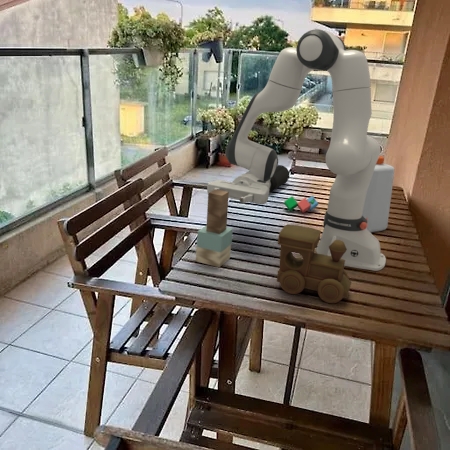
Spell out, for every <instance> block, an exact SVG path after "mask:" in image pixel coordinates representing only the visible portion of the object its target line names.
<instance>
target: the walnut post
mask: <svg viewBox="0 0 450 450" xmlns="http://www.w3.org/2000/svg"><path fill="white" fill-rule="evenodd" d="M228 197H229V192H227V191H222V190H217V189H215V190H213V191H211V192H209V193H208V192H207V207H206V208H207V211H206V225H207V228H206V231H209V232H213V233H217V234H221V233H222V232H223V231H225V230H226V227H227V224H228V223H227V222H228V212H229V211H228V210H229V208H228V207H229V198H228Z"/></svg>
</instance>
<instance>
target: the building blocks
mask: <svg viewBox="0 0 450 450" xmlns="http://www.w3.org/2000/svg"><path fill="white" fill-rule="evenodd" d="M283 204H284V205H285V207H286V208H287V210H288V211H289V212H292V211H293V210H294V209H296V208H298V210H300V212H301V213H302V214H305V212H307V211H312V210H313V209H315V208H317V207H318V205H319V202H318V201H317V200H316V199H315V197H314V195H312V196H310V197H308V198H307V197H305V198H302V199H301V200H300V201H299V202H298V201H297V200H296V199H295V197H294V196H290V197H289V198H287V199H286V200H284V203H283Z"/></svg>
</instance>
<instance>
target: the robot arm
mask: <svg viewBox="0 0 450 450" xmlns="http://www.w3.org/2000/svg"><path fill="white" fill-rule="evenodd" d="M310 72H328V73H329V75H330V77H331V79H330V80H331V84H332V85H331V89H332V111H333V112H332V113H333V115H332V117H333V120H332V121H333V122H332V128H331V129H332V130H331V136H330V143H329V146H328V149H327V151H326V154H325V164H326V167H327V168H328V170H329V171H330V172H332V173H333V174H335V175H336V177H335V179H334V181H333V183H332V185H331V187H330V189H329V190H330V191H329V194H328V195H329V196H328V203H327V210H326V211H325V213H324V216H323V217H324V218H323V223H322V224H323V226H322V227H323V230H322V232H321V235H320V240H319V243H318V244H317V246H316V248H315V252H316V253H317V254H323V255H328V256H331V253H330V249H329V246H330V245H331V244H332V243H333V242H334V241H335V240H341V241H343V242H344V244H345V246H346V248H347V250H346V252H345V253H344V254H343V256H342V257H341V259H344V260H345V264H344V267H350V268H357V269H363V270H368V271H369V270H370V271H373V272H374V271H381V270H382V269H384V267H385V266H386V262H387V261H386V260H387V258H386V256H385V254H383V253H382V252H381V245H380V244H381V243H380V241H379V239H378V238H376V236H374V235H373V233H372V232H369V231H368V230H367V229H366V227H367V222H368V221H367V220H368V219H367V218H366V219H365V218H364V217H363V216H362V212H363V207H364V202H365V197H366V193H367V189H368V186H369V183H370V181H371V178H372V175H373V172H374V169H375V166H376V163H377V160H378V158H379V156H381V152H382V151H381V146H380V143H379V142H378V141H377V139H375V138H374V137H372V136H370V135H368V129H369V125H370V124H369V123H370V119H372V114H373V113H372V88H371V75H370V68H369V63H368V59H367V56H366V55H365V53H363V52H362V51H361V50H356V49H350V50H347V47H346V45H345V43H344V41H343V40H342V38H340V37H339V36H337V35H336V34H334V33H333V32H330V31H328V30H323V29H321V28H320V29H318V28H315V29H310V30H308V31H306V32H305V33H304V34H303V35H301V37H300V38H299V39H298V41H297V43H296V47H292V46H291V47H286V48H283V49H282V50H281V51H280V52H279V54H278V56H277V57H276V60H275V62H274V63H273V66H272V69H271V72H270V73H269V78H268V80H267V83H266V85H265V87H264V88H263V89H262V90H261V91H260V92H256V93H254V95H253V96H252V98H251V99H250V100H249V103H248V104H247V107H246V108H245V109H244V113H243V114H242V116H241V118H240V120H239V123H238V125H237V127H236V129H235V130H234V133H233V135H232V137H231V138H230V140H229V142H228V144H227V145H226V147H225V151H224V152H225V153H224V154H225V158H226V159H227V161H228V163H229V165H234V166H237V167H241V168H243V169H245V170H248V171H246V172H245V173H243V174H241V175H238V176H236V177H235V178H234V179H233V180H232V181H227V180H222V179H216V180H212V181H211V182H208V183H207V186H206V191H207V194H208V193H209V192H211V191H213V190H215V189H217V190H222V191H227V192H229V197H228V199H233V200H237V201H239V202H240V204H241V203H242V204H246V203H251V204H252V203H253V204H258V205H265V204H267V203H268V201H269V196H270V193H269V187H270V186H269V183H270V179H271V178H272V177H273V176H274V174H275V172H276V169H277V166H278V165H279V158H278V154H277V152H276V150H275V149H273V148H271V147H269V146H266V145H263V144H260V143H258V142H255V141H252V140H250V139H249V137H248V136H249V134H250V133H251V130H252V128H253V127H254V124H255V122H256V121H257V118H258V117H259V116H260V115H261V114H265V113H280V112H285V111H289V110H290V109H292V108H293V107H294V106H296V104H297V102H298V99H299V97H300V94H301V92H302V88H303V86H304V82H305V80H306V77H307V76H308V74H310Z"/></svg>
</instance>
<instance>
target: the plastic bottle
mask: <svg viewBox="0 0 450 450" xmlns="http://www.w3.org/2000/svg"><path fill="white" fill-rule="evenodd" d="M384 161H385V157H384V156H382V155H380V156H379V158H378V160H377V163H376V166H375V169H374V172H373V175H372V178H371V181H370V183H369V186H368V189H367V193H366V197H365V202H364V207H363V212H362V216H363V217H364V218H365V219H366V218H367V219H368V220H367V221H368V222H367V227H366V229H367V230H368V231H369V232H370V233H375V232H381V231H382V232H383V231H386V229H387V228H388V224H389V216H390V207H391V201H392V200H391V199H392V194H393V185H394V184H393V183H394V178H395V177H394V176H395V167H394V166H392V165H390V164H387V163H384Z"/></svg>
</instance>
